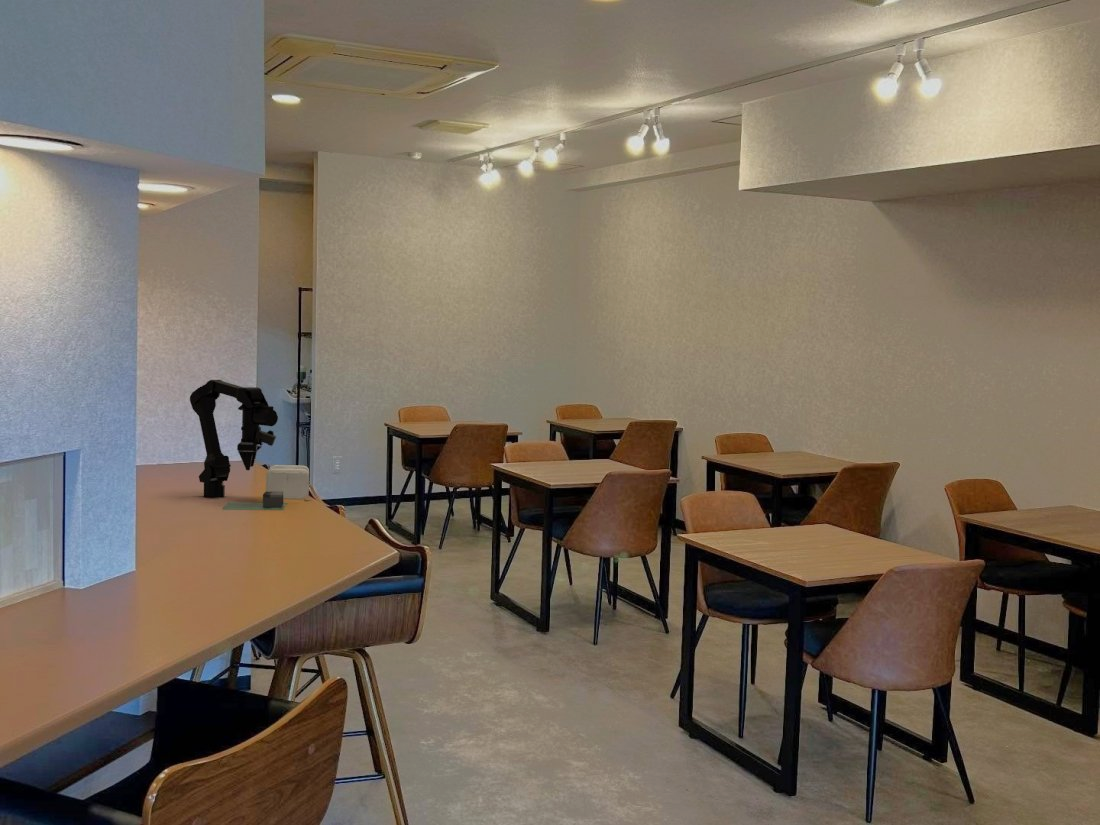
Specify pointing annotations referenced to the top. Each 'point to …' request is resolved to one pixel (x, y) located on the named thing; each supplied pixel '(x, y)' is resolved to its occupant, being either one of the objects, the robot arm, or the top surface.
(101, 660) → the top surface
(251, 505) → the header board
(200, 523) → the top surface
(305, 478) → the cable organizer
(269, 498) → the plug
